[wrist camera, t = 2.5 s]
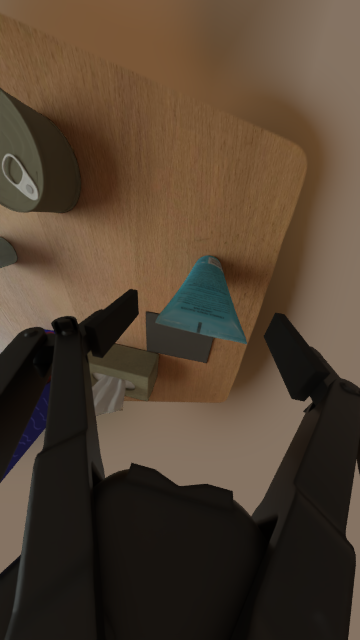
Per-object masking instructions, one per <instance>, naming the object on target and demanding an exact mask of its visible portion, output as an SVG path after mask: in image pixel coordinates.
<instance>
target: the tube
mask: <svg viewBox="0 0 360 640" xmlns="http://www.w3.org/2000/svg"><path fill="white" fill-rule="evenodd" d="M155 323H157V324H161V325H165V326H169V327H173V328H177V329H181V330H185V331H190V332H194V333H198V334H202V335H207V336H211V337H215V338H220V339H225V340H231V341H235V342H240V343H243V344H247V342H246V338H245V335H244V333H243V330H242V328H241V325H240V322H239V320H238V317H237V314H236V311H235V309H234V306H233V303H232V300H231V297H230V293H229V290H228V287H227V284H226V280H225V277H224V273H223V270H222V266H221V263H220V262H219V260H218V259H217V258H215V257H213V256H203V257H201V258H200V259H199V260H198V261H197V262H196V264H195V265H194V267H193V269H192V270H191V272H190V274H189V275H188V277H187V278H186V280H185V281H184V283H183V284H182V286H181V287H180V289H179V290H178V292H177V293H176V294H175V296H174V297H173V298H172V300H171V301H170V302H169V303H168V305H167V306H166V307H165V308H164V310H163V311H162V312H161V313H160V314H159V315H158V317H157V319H156V321H155Z"/></svg>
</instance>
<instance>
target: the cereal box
mask: <svg viewBox="0 0 360 640" xmlns="http://www.w3.org/2000/svg"><path fill="white" fill-rule="evenodd" d="M45 332H46V333H55V332H54V331H51V330H45ZM50 383H51V375H50V377H49V379H48V381H47V383H46V386H45V388H44V390H43V392H42V394H41V396H40V399H39V401H38V403H37V405H36V407H35V409H34V412H33V414H32V416H31V418H30V420H29V422H28V424H27V427H26V429H25V431H24V433H23V435H22V437H21V440H20V442H19V444H18V446H17V448H16V450H15V452H14V455H13V457H12V459H11V461H10V463H9V465H8V468H7V470H6V472H5V474H4V476H3V478H2V480H3V479H4V478H5V476H6V475H7V474H8V473H9V472H10V470H11V469H12V468H13V466H15V464H16V463H17V462H18V461H19V459H20V458H21V457H22V456H23V455H24V453H25V452H26V451H27V450H28V449H29V447H30V446H31V445H32V444H33V442H34V441H35V440H36V439H37V438H38V436H39V435H40V434H41V433H42V432H43V430H44V429H45V428H46V420H47V410H48V401H49V392H50ZM2 480H1V481H2Z"/></svg>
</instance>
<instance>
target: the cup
mask: <svg viewBox="0 0 360 640" xmlns="http://www.w3.org/2000/svg"><path fill="white" fill-rule="evenodd" d="M16 261H17V255H16V252H15V250H14V248H13V247H12V246H11V245H10V243H9V242H7V241H6V240H5V239H3V238H1V237H0V268H2V267H5V266H8V265H11V264H14V263H15V262H16Z"/></svg>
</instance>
